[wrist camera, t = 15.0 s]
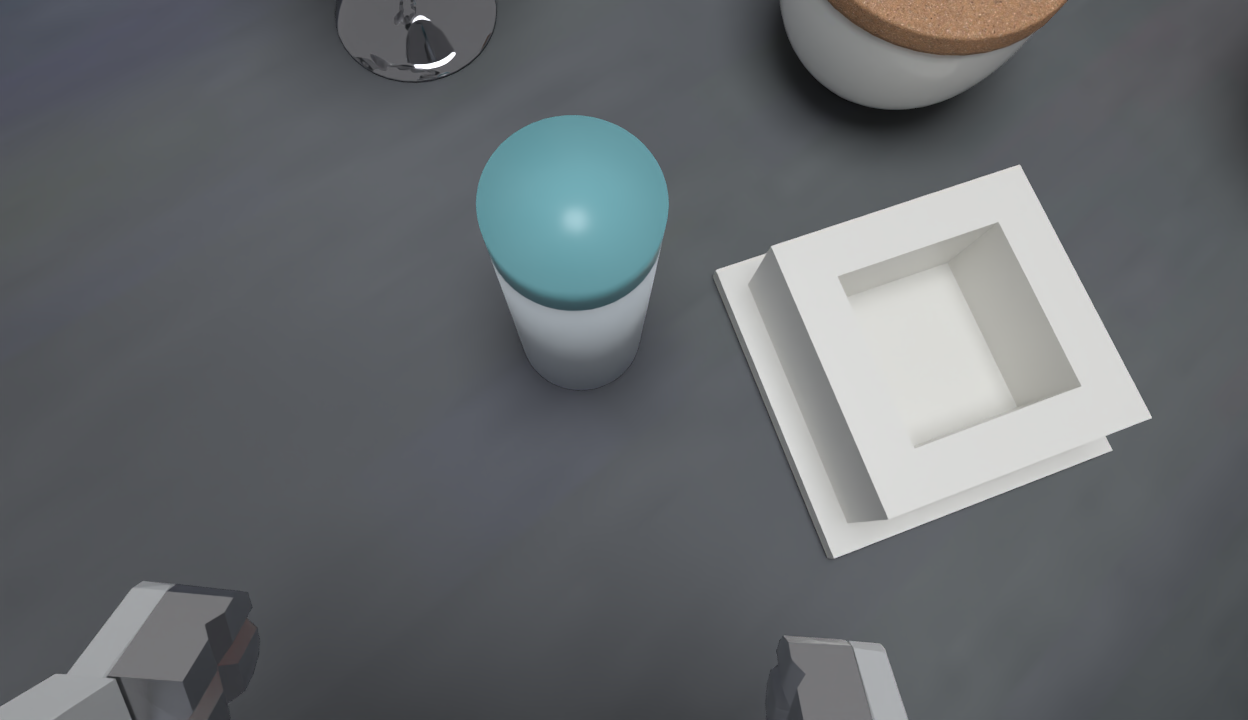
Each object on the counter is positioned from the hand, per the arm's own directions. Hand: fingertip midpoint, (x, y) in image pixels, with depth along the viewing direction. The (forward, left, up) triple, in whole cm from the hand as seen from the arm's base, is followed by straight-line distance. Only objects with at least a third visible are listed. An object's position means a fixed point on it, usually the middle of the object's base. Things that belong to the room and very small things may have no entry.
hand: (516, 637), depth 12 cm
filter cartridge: (+4, +9, -17) cm, 20 cm away
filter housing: (+16, +3, -17) cm, 24 cm away
